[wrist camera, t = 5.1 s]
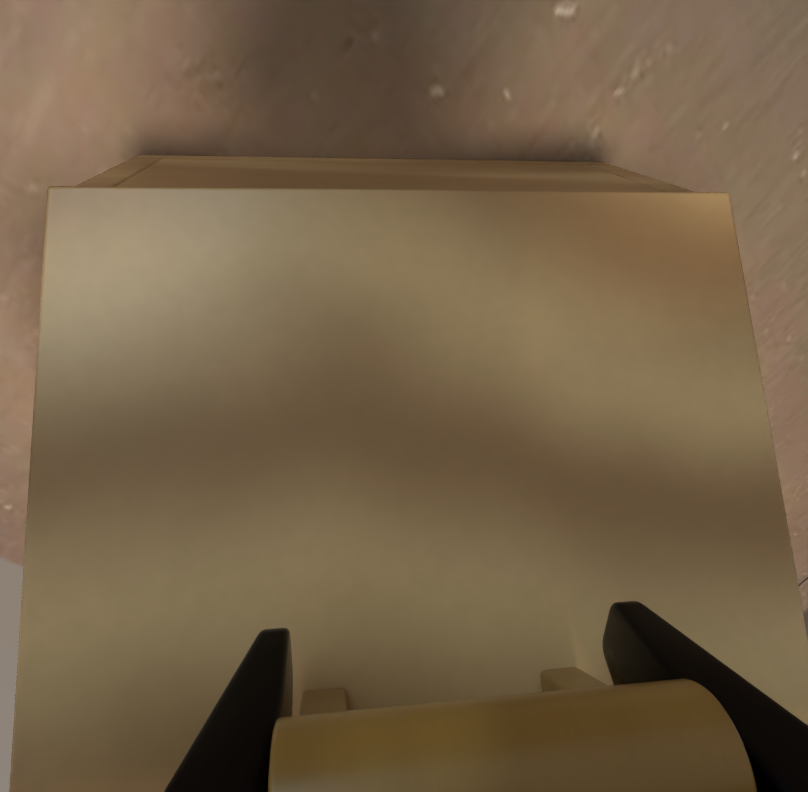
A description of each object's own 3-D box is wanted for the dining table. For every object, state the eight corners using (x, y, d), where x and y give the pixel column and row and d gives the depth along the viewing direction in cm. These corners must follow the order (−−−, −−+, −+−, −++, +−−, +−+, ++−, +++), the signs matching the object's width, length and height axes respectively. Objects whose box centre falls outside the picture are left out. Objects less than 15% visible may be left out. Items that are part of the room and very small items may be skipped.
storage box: (553, 453, 24) (618, 559, 19) (187, 470, 22) (150, 591, 17) (603, 161, 19) (710, 196, 14) (136, 154, 17) (61, 190, 12)
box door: (804, 759, 11) (1163, 936, 7) (24, 849, 10) (-290, 1182, 5) (710, 207, 14) (926, 28, 9) (61, 203, 12) (-128, -23, 7)
